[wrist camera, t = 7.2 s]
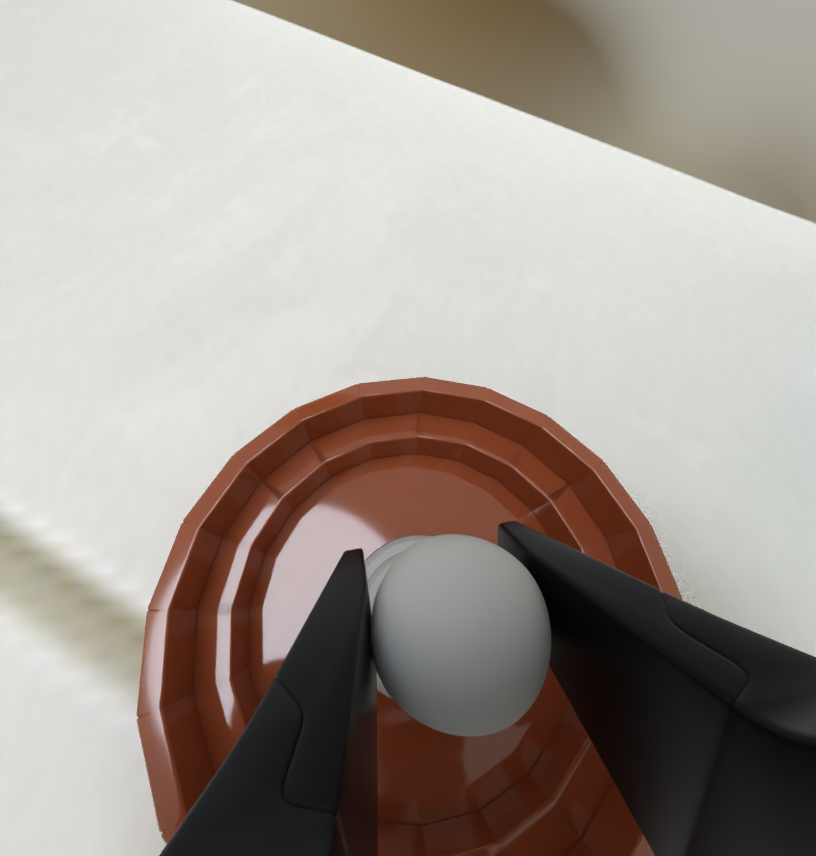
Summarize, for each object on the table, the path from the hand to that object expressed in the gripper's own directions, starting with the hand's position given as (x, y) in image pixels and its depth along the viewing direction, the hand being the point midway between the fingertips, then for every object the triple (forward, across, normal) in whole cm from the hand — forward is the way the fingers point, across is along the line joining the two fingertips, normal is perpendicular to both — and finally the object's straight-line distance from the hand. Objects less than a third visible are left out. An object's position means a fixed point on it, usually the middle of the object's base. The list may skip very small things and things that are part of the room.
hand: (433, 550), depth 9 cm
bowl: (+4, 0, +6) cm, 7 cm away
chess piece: (+4, 0, +6) cm, 7 cm away
